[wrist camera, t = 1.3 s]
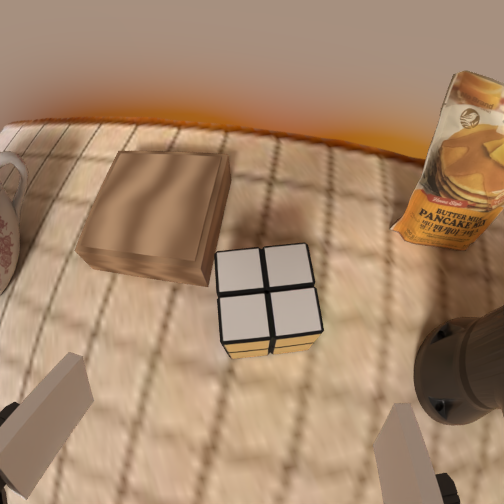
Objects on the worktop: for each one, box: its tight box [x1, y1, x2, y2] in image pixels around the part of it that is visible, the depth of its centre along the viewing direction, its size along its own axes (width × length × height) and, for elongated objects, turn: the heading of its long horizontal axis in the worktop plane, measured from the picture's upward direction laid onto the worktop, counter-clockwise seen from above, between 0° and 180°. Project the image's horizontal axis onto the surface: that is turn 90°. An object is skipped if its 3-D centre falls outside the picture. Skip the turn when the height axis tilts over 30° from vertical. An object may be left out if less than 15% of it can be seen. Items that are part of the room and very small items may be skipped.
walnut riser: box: [75, 151, 231, 287], centre depth 45 cm, size 18×18×6 cm
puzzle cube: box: [214, 243, 324, 359], centre depth 36 cm, size 10×10×10 cm
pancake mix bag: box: [390, 71, 504, 251], centre depth 33 cm, size 7×19×28 cm, turn 82°
